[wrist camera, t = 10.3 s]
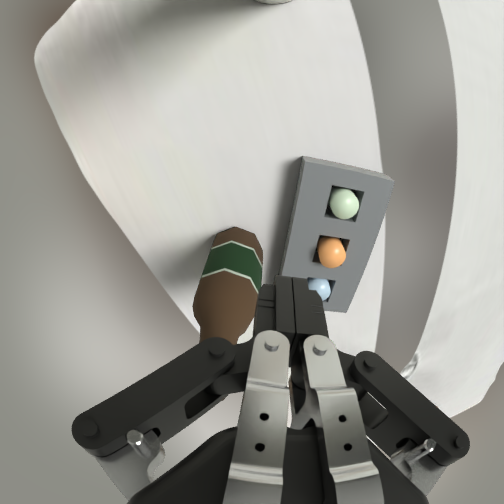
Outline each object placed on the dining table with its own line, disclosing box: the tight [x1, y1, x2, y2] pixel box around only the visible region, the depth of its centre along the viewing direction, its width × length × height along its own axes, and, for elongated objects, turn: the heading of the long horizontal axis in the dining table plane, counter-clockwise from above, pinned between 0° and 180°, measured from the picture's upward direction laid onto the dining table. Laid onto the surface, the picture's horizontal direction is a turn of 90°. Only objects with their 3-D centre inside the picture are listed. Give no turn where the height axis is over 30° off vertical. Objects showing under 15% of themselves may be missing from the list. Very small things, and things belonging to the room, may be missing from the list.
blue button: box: [307, 277, 331, 301], centre depth 42 cm, size 4×4×3 cm
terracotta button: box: [317, 235, 346, 268], centre depth 37 cm, size 4×4×3 cm
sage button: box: [328, 186, 359, 219], centre depth 34 cm, size 4×4×3 cm
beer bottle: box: [193, 227, 263, 401], centre depth 32 cm, size 8×8×24 cm
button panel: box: [279, 156, 395, 313], centre depth 38 cm, size 22×12×3 cm, turn 173°
